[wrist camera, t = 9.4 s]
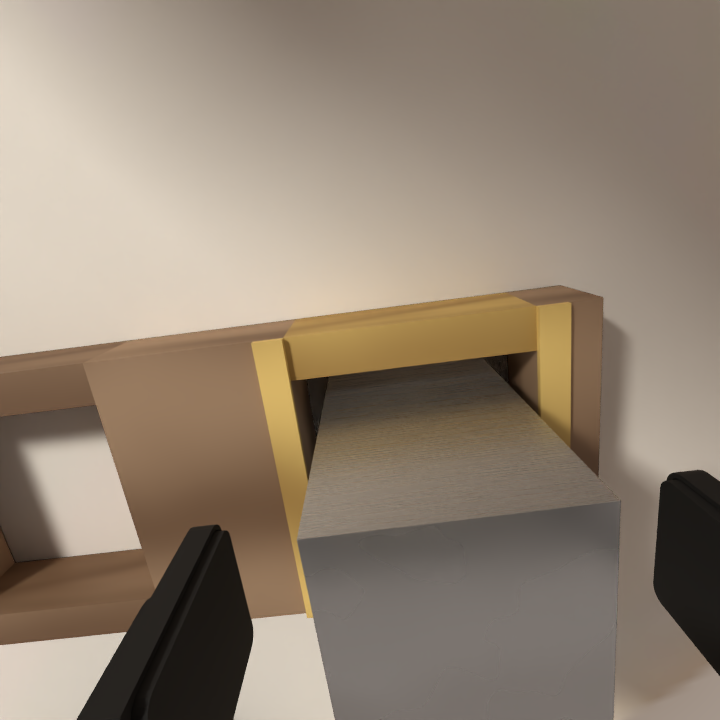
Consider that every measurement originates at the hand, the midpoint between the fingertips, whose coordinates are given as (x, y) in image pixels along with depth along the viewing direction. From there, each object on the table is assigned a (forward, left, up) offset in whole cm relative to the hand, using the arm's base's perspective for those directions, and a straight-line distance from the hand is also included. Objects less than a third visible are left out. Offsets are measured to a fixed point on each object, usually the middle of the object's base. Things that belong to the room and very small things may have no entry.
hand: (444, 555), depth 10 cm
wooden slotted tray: (0, -6, -6) cm, 8 cm away
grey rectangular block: (0, 0, -6) cm, 6 cm away
